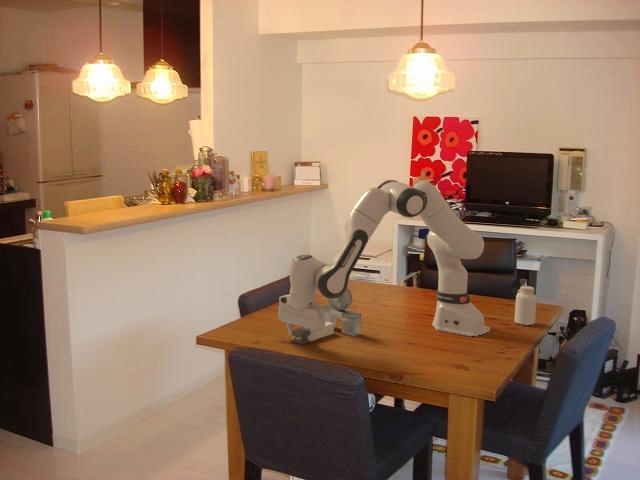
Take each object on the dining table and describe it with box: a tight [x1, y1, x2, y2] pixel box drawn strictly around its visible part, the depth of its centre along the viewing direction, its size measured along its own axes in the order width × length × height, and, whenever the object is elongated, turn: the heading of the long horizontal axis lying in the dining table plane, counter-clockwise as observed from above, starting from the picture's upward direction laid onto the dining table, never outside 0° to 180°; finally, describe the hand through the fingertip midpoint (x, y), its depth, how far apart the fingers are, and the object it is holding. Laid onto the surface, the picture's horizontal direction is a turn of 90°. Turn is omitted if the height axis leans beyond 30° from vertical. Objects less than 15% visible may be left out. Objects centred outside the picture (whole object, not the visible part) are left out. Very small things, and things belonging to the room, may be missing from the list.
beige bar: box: [292, 322, 335, 345], centre depth 264 cm, size 19×4×4 cm, turn 138°
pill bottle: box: [514, 285, 537, 325], centre depth 288 cm, size 8×8×15 cm
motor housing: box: [321, 287, 362, 337], centre depth 274 cm, size 4×18×17 cm, turn 48°
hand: (301, 337), depth 259 cm, fingers open, 8 cm apart
